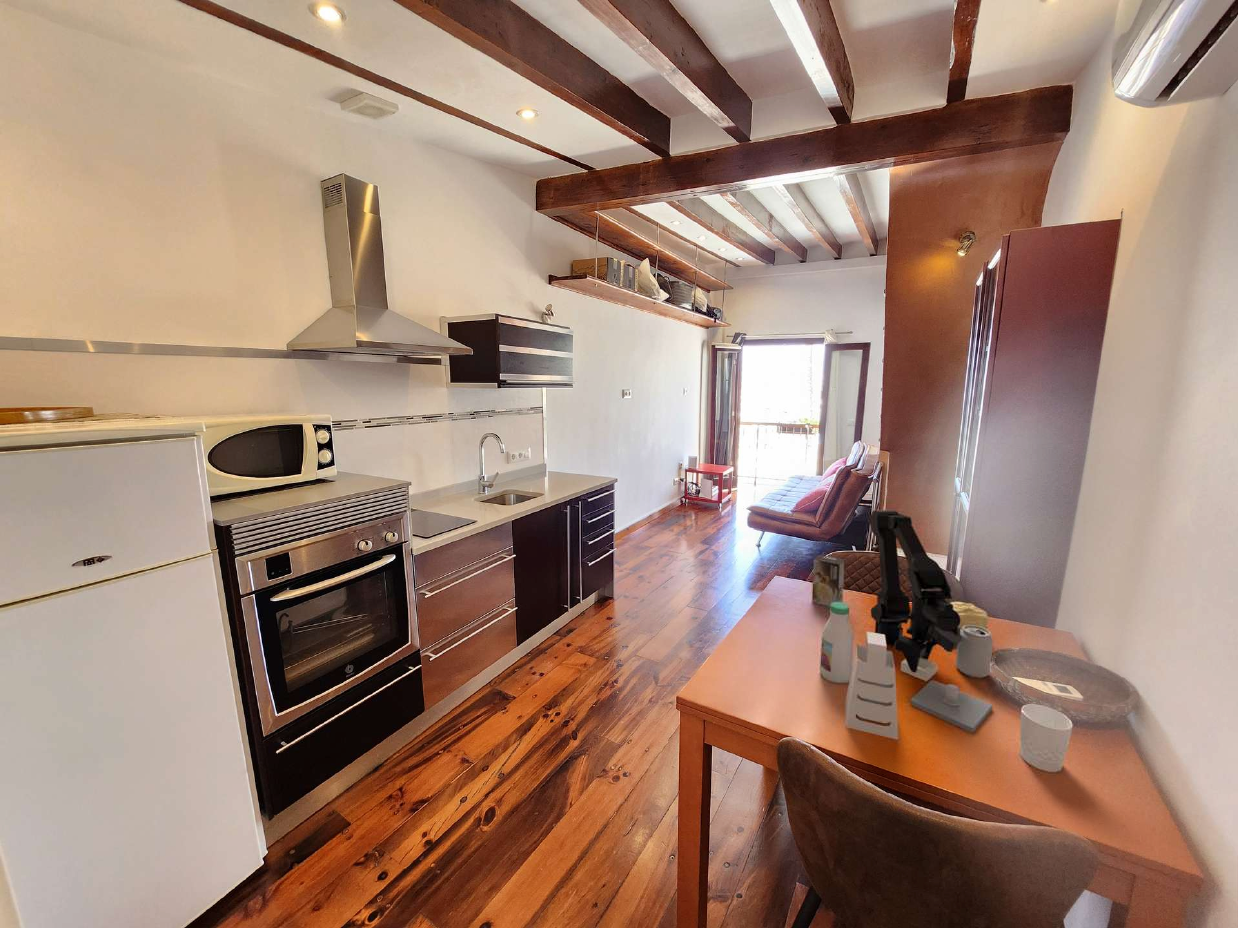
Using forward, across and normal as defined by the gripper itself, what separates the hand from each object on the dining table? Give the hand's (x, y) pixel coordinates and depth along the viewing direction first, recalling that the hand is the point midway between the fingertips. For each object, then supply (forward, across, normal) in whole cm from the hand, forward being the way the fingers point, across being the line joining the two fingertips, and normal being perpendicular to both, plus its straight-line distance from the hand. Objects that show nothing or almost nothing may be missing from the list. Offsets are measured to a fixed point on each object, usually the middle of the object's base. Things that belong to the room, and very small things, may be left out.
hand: (918, 667), depth 134 cm
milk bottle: (+2, -19, +13) cm, 23 cm away
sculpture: (+2, +30, 0) cm, 30 cm away
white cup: (+2, -15, -29) cm, 33 cm away
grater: (+2, -29, -1) cm, 29 cm away
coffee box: (+2, +21, +38) cm, 43 cm away
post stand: (+1, -10, -11) cm, 15 cm away
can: (+2, +11, -9) cm, 14 cm away
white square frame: (+1, 0, 0) cm, 1 cm away
